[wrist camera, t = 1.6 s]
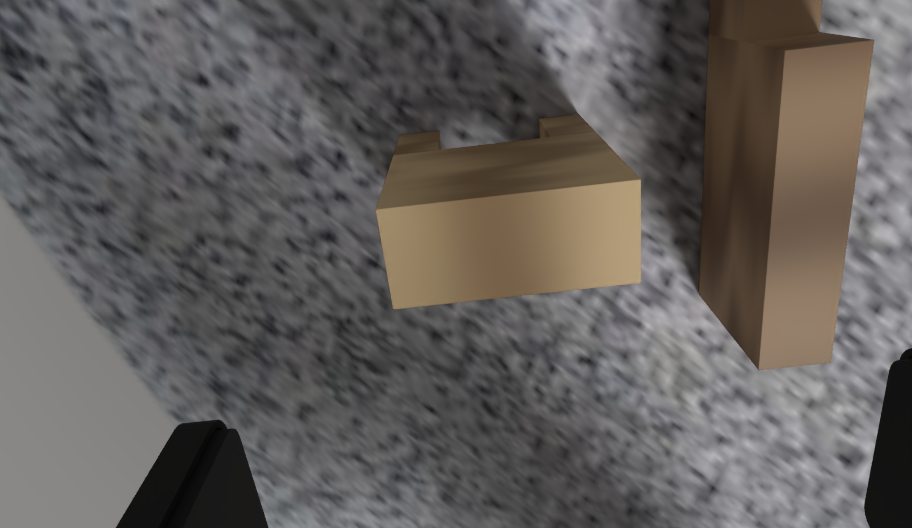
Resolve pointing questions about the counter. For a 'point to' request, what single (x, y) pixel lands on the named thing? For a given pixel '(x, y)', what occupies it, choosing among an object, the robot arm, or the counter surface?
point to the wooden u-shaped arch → (508, 217)
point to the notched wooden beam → (779, 175)
